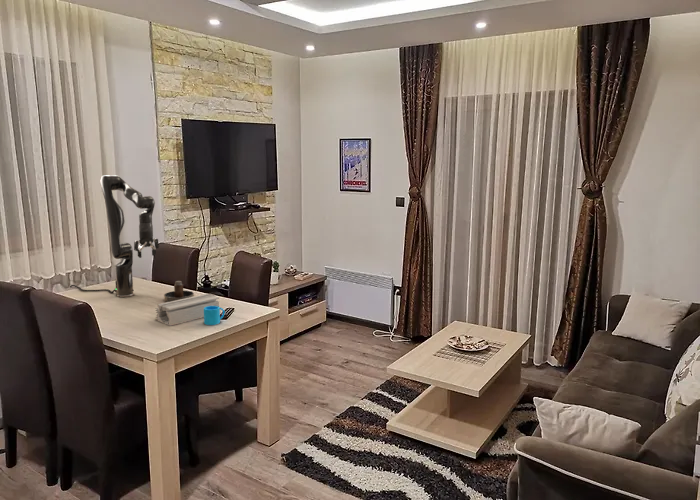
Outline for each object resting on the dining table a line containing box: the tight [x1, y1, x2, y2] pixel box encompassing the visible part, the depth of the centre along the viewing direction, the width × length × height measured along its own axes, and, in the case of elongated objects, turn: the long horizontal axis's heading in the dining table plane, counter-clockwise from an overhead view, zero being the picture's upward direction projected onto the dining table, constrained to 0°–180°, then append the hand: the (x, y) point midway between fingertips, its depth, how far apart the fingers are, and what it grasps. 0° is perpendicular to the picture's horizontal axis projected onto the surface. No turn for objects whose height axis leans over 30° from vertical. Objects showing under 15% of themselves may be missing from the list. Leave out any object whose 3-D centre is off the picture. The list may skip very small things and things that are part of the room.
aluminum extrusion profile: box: [154, 293, 220, 327], centre depth 276 cm, size 14×31×10 cm, turn 140°
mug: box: [203, 305, 226, 326], centre depth 268 cm, size 12×8×8 cm
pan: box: [163, 290, 195, 303], centre depth 309 cm, size 17×17×4 cm
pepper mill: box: [173, 280, 184, 298], centre depth 308 cm, size 5×5×11 cm
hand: (146, 256), depth 301 cm, fingers open, 8 cm apart
